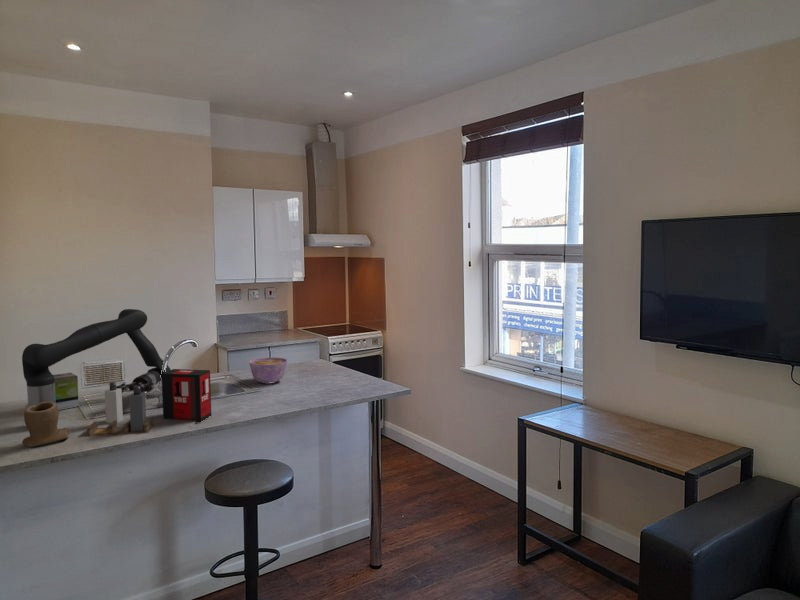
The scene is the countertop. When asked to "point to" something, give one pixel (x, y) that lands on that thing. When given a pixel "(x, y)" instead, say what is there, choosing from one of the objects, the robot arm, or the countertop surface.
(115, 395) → the white square bottle
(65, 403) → the tea box
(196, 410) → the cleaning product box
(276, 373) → the bowl of food
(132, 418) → the grey square bottle
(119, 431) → the comb rack
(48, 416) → the stone cup
